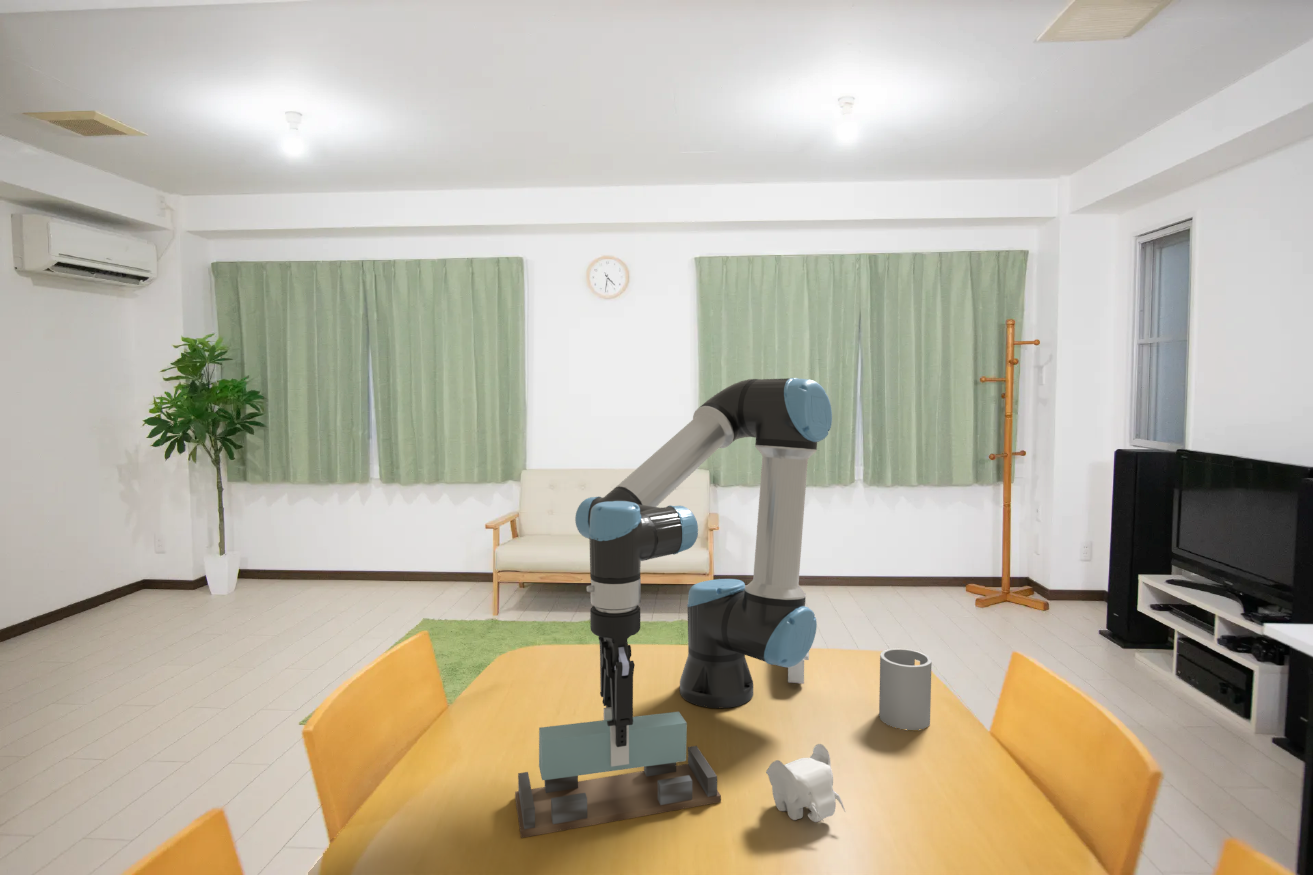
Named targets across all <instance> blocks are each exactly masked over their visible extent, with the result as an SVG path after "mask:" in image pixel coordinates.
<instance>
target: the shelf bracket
mask: <svg viewBox="0 0 1313 875" xmlns="http://www.w3.org/2000/svg"><path fill="white" fill-rule="evenodd" d="M809 658H810V651H809V652H808V653H807V654H806V656H805V657H804V659H803V660H802V661H801V662H799V663H798V664H797V665H795V666H792V667H787V683H789V684H790V683H791V684H803V685H804V684H805V661H809Z"/></svg>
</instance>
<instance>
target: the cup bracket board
mask: <svg viewBox="0 0 1313 875" xmlns="http://www.w3.org/2000/svg"><path fill="white" fill-rule="evenodd" d="M517 780H518V782H517V784H518V786H517V788H518V791H515V792H514V798H515V806H516V807H515V808H516V813H517V819H518V826H519V832H520V838H521V839H522V838H528V837H533V836H539V835H545V834H550V833H551V834H552V833H556V832H561V831H567V830H573V829H577V828H582V827H583V828H584V827H589V826H594V825H600V824H605V823H606V824H607V823H611V822H616V821H623V820H628V819H633V818H639V817H644V816H650V815H651V816H652V815H656V814H660V813H665V812H667V813H668V812H672V811H679V810H683V809H684V810H685V809H689V808H694V807H700V806H706V805H713V804H717V803H721V802H722V796H721V794H720V792H719V791H718V775H717V773H716V772H715V771H714V769H713V768H712V766H711V765H710V763H709V762H708V760H707V759H706V757H705V756H704V755H703V753H702V751H701V750H700V749H699V747H698V746H697V745H692V746H687V763H684V764H683V763H682V764H678V765H677V762H675V763H667V764H660V765H653V766H645V767H643V770H641V771H640V770H639V771H634V772H627V773H622V774H617V775H611V776H610V775H609V776H604V777H603V776H602V777H597V778H591V779H586V780H585V779H584V780H580V781H579V776H572V777H564V778H557V779H550V780H543V781H544V786H543V787H536V788H535V787H534V788H532V786H531V782H530V776H529V771H525V772H524V771H523V772H518V773H517Z"/></svg>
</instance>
